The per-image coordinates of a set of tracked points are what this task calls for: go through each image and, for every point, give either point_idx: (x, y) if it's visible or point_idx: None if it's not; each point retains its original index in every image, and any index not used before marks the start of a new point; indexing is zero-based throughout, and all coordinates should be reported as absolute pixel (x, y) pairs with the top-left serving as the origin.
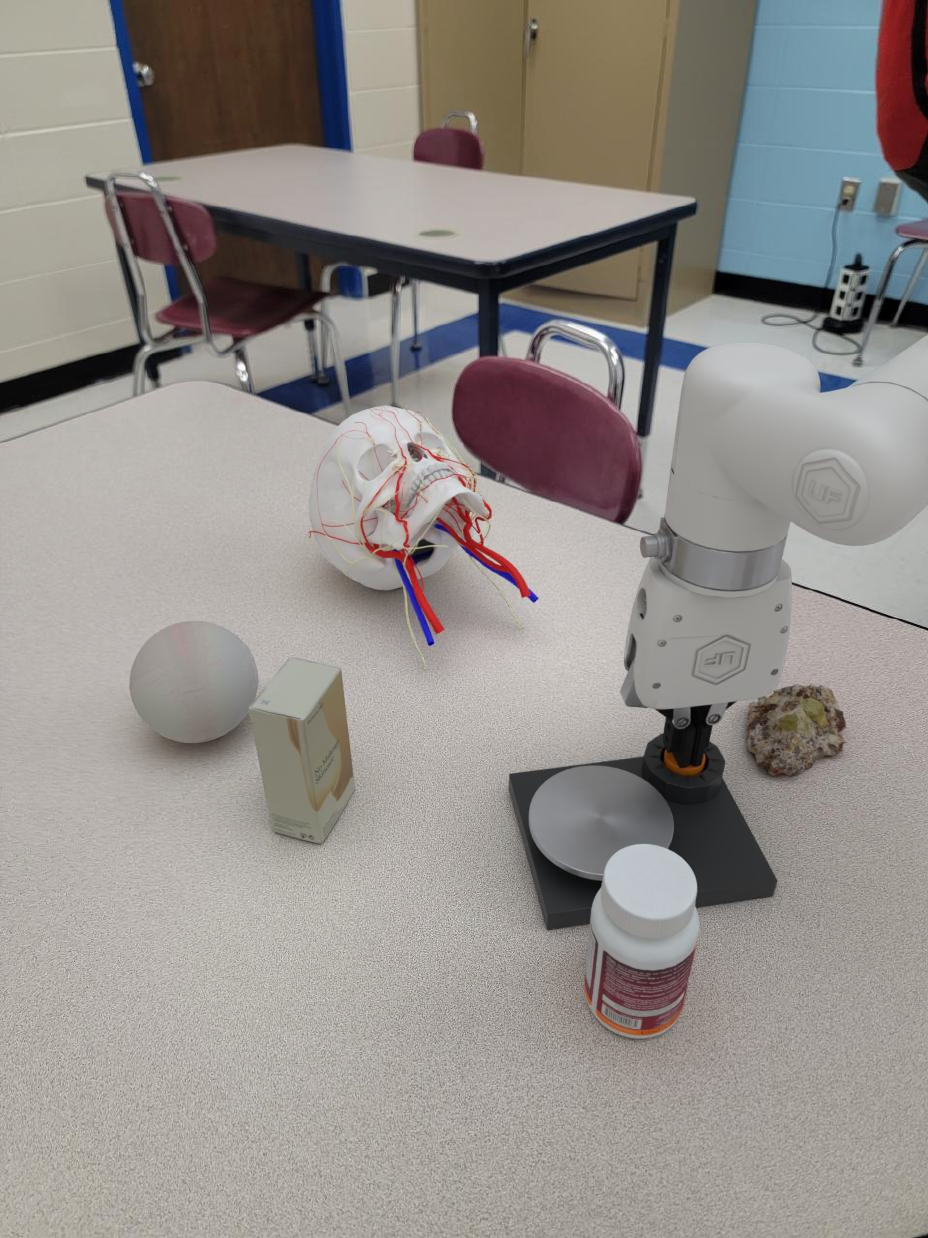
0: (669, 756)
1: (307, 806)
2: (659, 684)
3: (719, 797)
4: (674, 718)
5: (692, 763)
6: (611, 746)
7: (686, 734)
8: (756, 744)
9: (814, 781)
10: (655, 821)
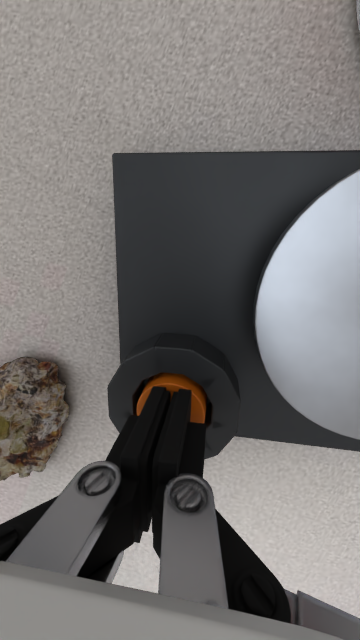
0: (198, 419)
1: None
2: None
3: (138, 336)
4: (214, 520)
5: (168, 392)
6: (239, 461)
7: (179, 454)
8: (54, 410)
9: (7, 342)
10: (302, 279)
